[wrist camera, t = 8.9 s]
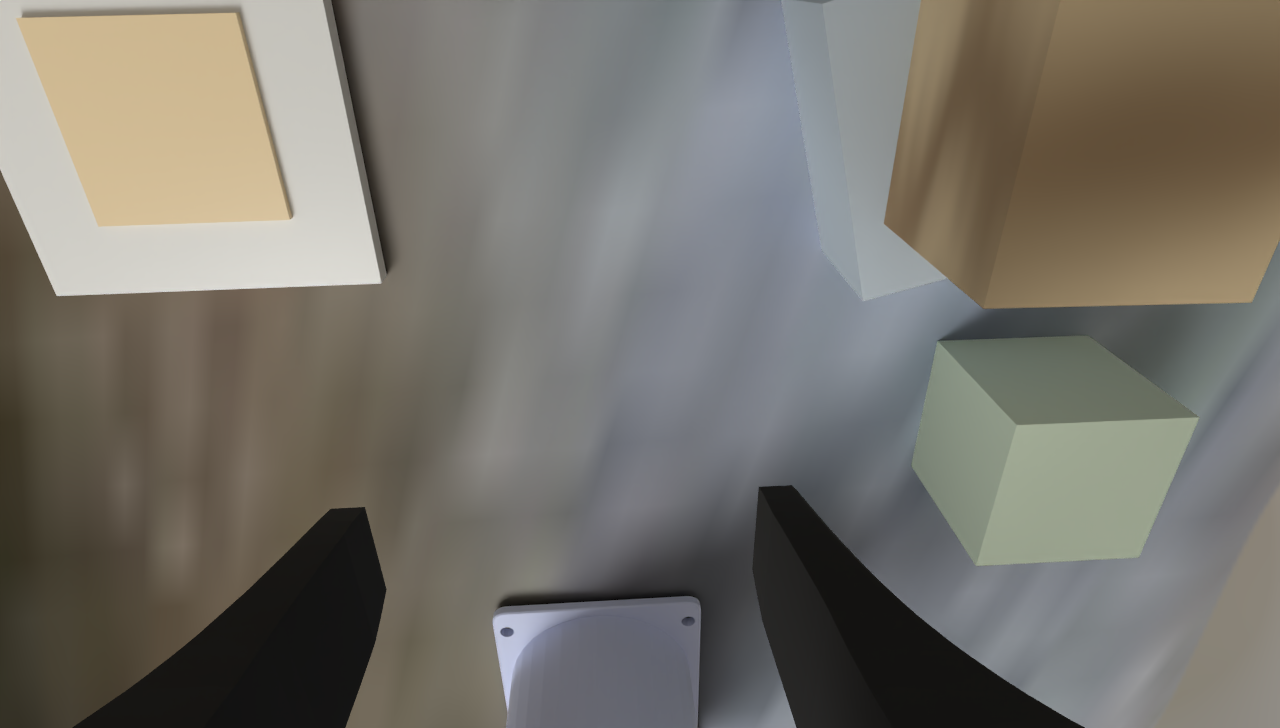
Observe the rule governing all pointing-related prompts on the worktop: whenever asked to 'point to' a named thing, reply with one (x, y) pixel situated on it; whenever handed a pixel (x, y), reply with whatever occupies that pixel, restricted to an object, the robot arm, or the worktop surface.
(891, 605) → the robot arm
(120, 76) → the card
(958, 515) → the sage block
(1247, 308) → the worktop surface
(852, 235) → the blue-grey base block
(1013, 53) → the maple block
